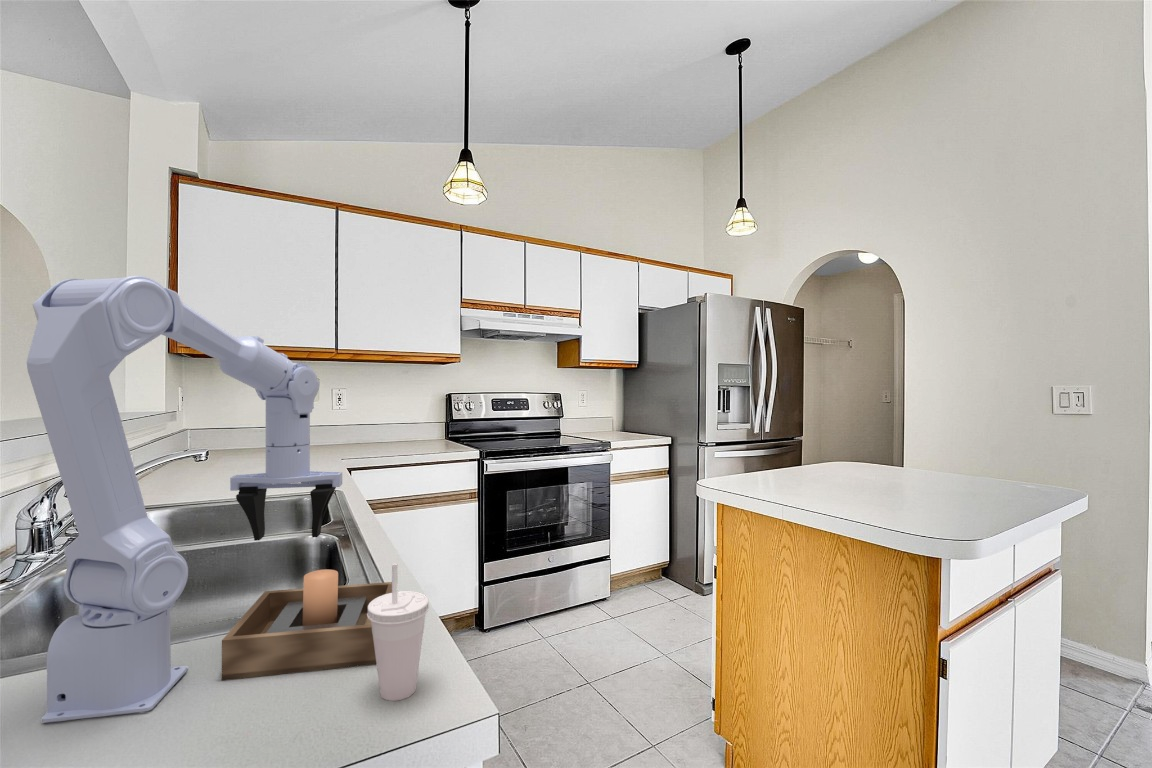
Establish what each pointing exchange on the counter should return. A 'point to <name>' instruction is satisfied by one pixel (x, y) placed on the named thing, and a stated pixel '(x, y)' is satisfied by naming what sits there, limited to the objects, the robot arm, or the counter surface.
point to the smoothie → (397, 638)
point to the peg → (320, 597)
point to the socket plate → (347, 615)
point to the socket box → (297, 638)
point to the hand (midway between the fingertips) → (288, 536)
